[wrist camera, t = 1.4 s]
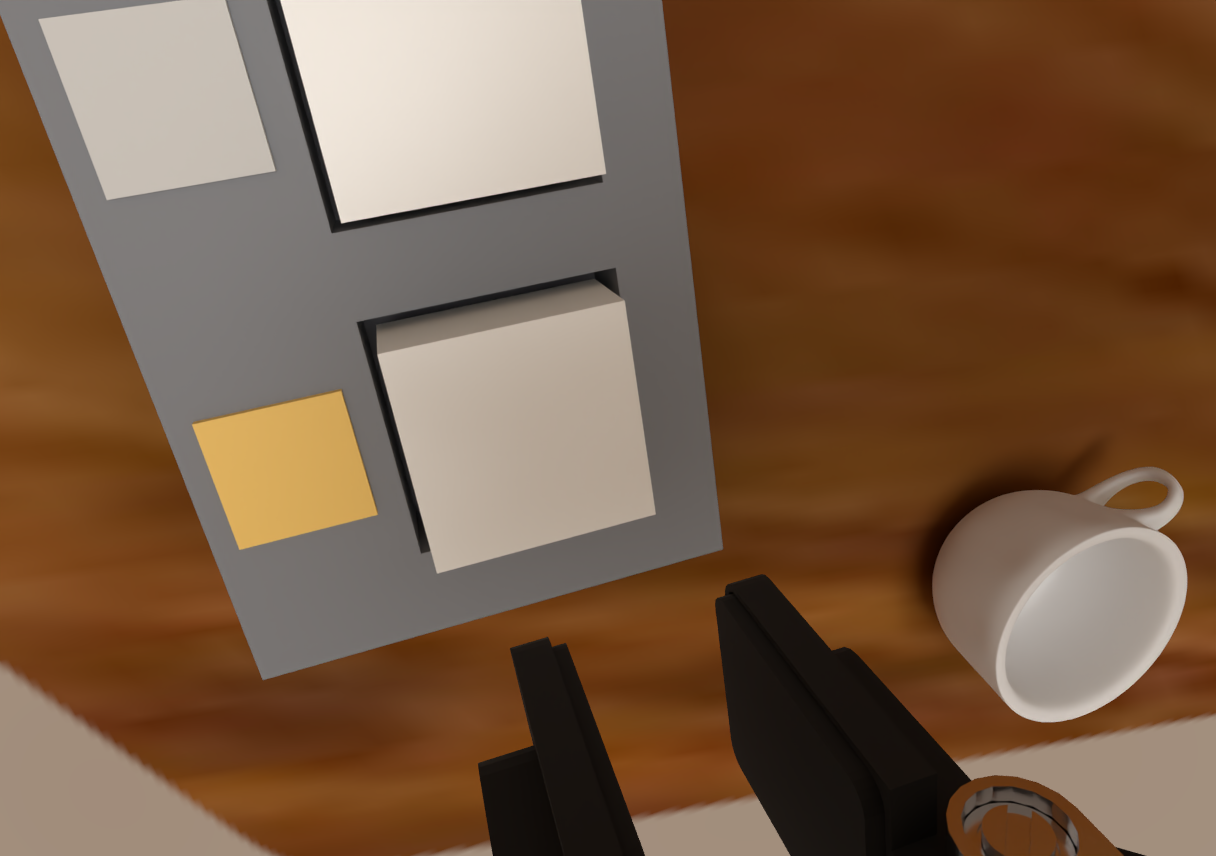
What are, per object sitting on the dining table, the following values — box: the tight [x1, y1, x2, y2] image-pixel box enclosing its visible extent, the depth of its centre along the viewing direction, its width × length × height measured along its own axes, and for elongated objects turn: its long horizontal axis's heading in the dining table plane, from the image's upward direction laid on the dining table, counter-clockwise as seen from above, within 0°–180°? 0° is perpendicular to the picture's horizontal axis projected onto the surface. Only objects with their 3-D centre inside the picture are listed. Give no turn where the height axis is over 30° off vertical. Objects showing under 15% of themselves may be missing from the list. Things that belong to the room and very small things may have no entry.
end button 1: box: [376, 279, 656, 574], centre depth 22 cm, size 6×6×3 cm
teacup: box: [932, 467, 1187, 722], centre depth 30 cm, size 10×8×5 cm
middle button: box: [280, 0, 606, 223], centre depth 18 cm, size 6×6×3 cm
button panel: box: [0, 0, 723, 680], centre depth 20 cm, size 14×30×3 cm, turn 9°
